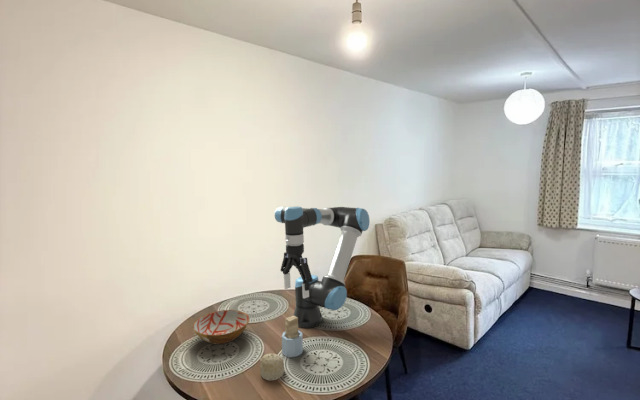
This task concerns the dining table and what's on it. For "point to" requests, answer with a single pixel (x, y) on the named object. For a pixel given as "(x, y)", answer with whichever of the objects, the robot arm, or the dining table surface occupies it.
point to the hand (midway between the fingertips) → (296, 292)
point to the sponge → (271, 367)
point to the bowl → (221, 326)
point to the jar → (292, 345)
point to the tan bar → (291, 327)
